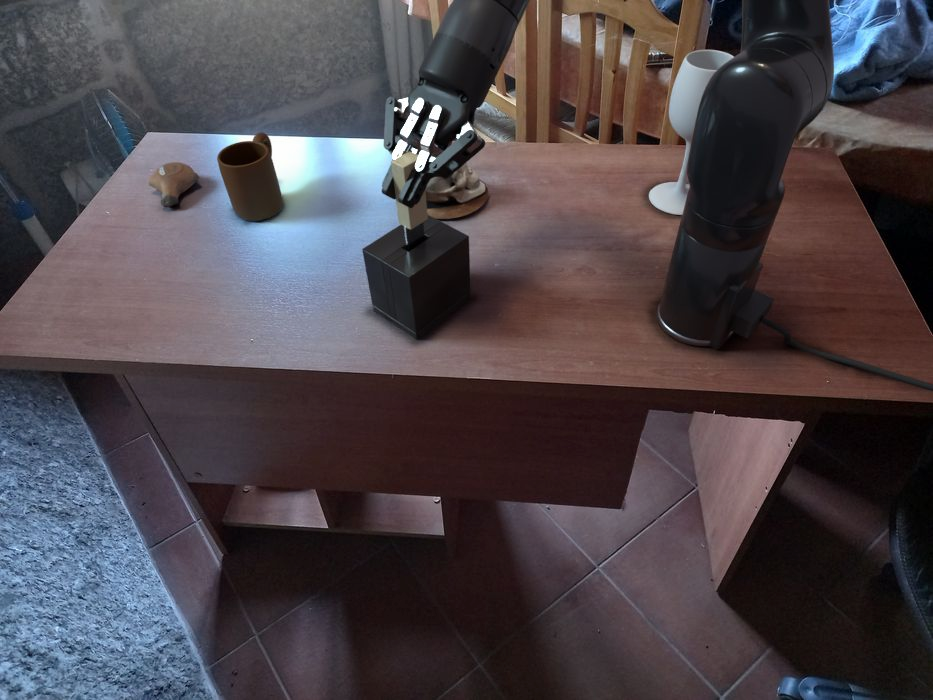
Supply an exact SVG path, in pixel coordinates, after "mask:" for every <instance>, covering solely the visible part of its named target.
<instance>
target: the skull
mask: <svg viewBox="0 0 933 700" xmlns="http://www.w3.org/2000/svg"><path fill="white" fill-rule="evenodd" d="M429 161H430V160H429ZM425 193H426V204H427V214H428V215H430V216H432V217H433V218H435V219H437V220H440V219H441V220H449V219H455V218H460V217H464V216H468V215H470V214H472V213H473V212H476V211H478V209H480V208H481V207H483V206H484V204H485V203H486V202H487V200H488V196H489V189H488V187H487V185H486V183H485V182H484V181H482V180H481V179H480V175H479V174H478V172H477V171H475V170H474V169H473V168H472V167H470V166H468V162H466V163H465V164H464V165H463V166H462V167H460V168H459V169H458V170H457V171H456V172H455V173H453V174H452V175H451V176H450V177H449V178H447V179H444V178H442V177H434V178H432V179H430V181H429V183H428V185H427V187H426V189H425Z"/></svg>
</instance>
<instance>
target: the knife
mask: <svg viewBox="0 0 933 700" xmlns="http://www.w3.org/2000/svg"><path fill="white" fill-rule="evenodd" d="M418 156H419V155H417V154H415V153H413V152H411V151H409V152H407V153H405V154H403V155H401V156H400V157H398V158H396V159H394V160H393V159H392V160H391V161H390V165H392V173H393V180H394V188H395V195H396V199H395V204H396V212H397V216H398V217H397V218H398V219H397V221H398V224H399V225H403V226H404V231H405V239H406V247H407V251H408V252H409V251H411V250H412V249H414V248H415V247H417V246H418V245H420V244H421V243H423V242H424V241H425V234H424V224H423V222H424V221H425V220H427V219H428V215H427V204H426V193H425V191H424V193H423V195H422V197H421V199H420V201H419V202H418V203H417V205H416V204H415V205H414V207H413V208H409V207H407V206H405V205H403V204H401V203H399V202H398V197H399V195H400V193H401V191H402V189H403V186H404V184H405V182H406V181H407V179H408V177H409V174H410V172H411V170H414V171H415V170H416V169H415V164H416V161H417V159H418Z"/></svg>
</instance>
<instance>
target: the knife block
mask: <svg viewBox="0 0 933 700" xmlns="http://www.w3.org/2000/svg"><path fill="white" fill-rule="evenodd" d="M427 215H428V214H427ZM423 224H424V234H425V241H424V242H423V243H421V244H420V245H418V246H417V247H415V248H414V249H412V250H411V251H409V252H408V251H407V247H406V239H405V231H404V226H403V225H401V224H399V225H398V226H396V227H395V228H393V229H392V230H390V231H388V232H387V233H384V234H383V235H382V236H381V237H379V238H378V239H376V240H374V241H373V242H371V243H370V244H368V245H366V246H365V247H362V249H361V251H362V255H363V261H364V266H365V272H366V279H367V283H368V288H369V294H370V300H371V304H372V310H373V312H375V313H376V314H378V315H379V316H380V317H382V318H384V319H385V320H386V321H388V322H390V323H391V324H393V325H394V326H396V327H397V328H399V329H400V330H402V331H403V332H405V333H406V334H408V335H409V336H411V337H412V338H414V339H415V340H418V339H420V338H421V337H422V336H423V335H425V334H426V333H427V332H429V331H430V330H431V329H433V328H434V327H435V326H436V325H438V324H439V323H440V322H442V321H443V320H444V319H445V318H447V317H448V316H450V315H451V314H452V313H453V312H455V311H456V310H458V309H459V308H461V306H463V305H464V304H466V303H467V302H468V301H470V299H471V298H472V288H471V286H472V285H471V259H470V258H471V256H470V236H469V235H468V234H466V233H464V232H462V231H460V230H458V229H456V228H454V227H453V226H451V225H448V224H447V223H445V222H443V221H441V220H440V219H438V218H433V217H432V216H430V215H428V219H427V220H425V221H424V222H423Z"/></svg>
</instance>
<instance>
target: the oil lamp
mask: <svg viewBox="0 0 933 700" xmlns="http://www.w3.org/2000/svg"><path fill="white" fill-rule="evenodd" d="M199 179H200V176H199V174H198V173H197V172H195V170H194V169H193V168H192V167H191V166H190V165H188V164H187V163H184V162H178V161H174V162H167V163H164V164H162V165H161V166H160V167H158V168H157V169H156V170H155V171H154V173H153V174H152V175H151V176H150V177H149V179H148V181H147V184H148V185H149V186H150V187H152V188H153V189H155V190H156V191H157V192H159V193H161V194H162V195H161V199H160V205H161V206H163V207H164V208H169V207H173V206H175V205H177V204H179V203H180V201H179V197H180V196H181V194H183V193H184V192H186V191H188V189H190V188H191V187H192V186H193V185H194V184H195V183H197V182H199Z"/></svg>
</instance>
